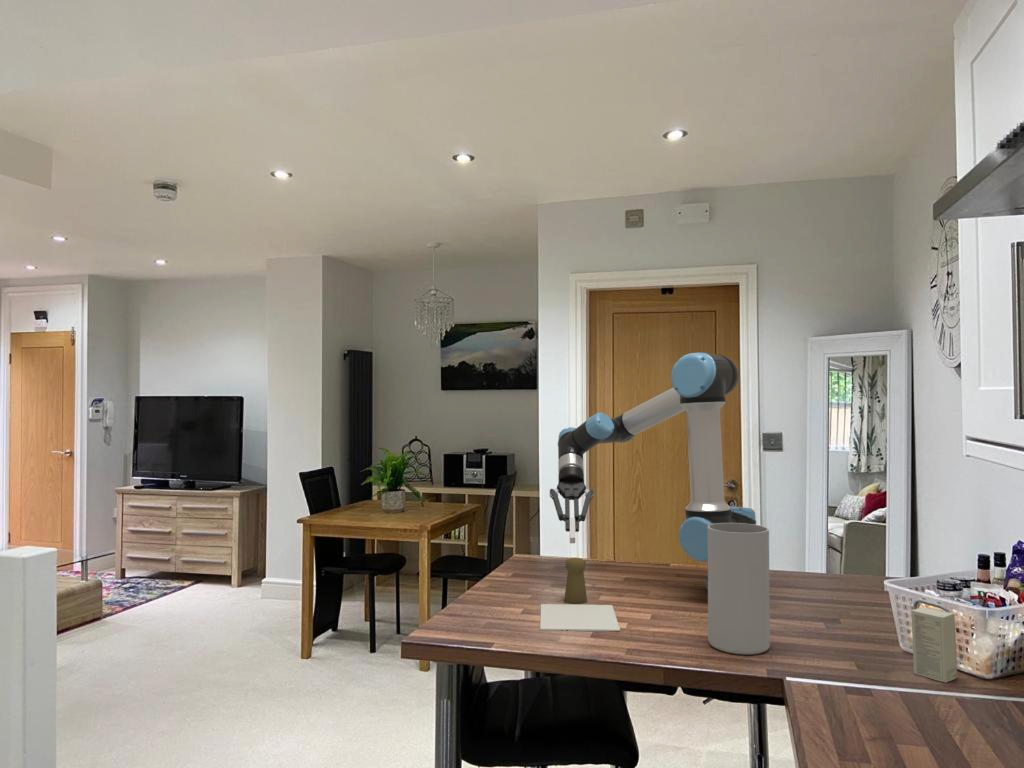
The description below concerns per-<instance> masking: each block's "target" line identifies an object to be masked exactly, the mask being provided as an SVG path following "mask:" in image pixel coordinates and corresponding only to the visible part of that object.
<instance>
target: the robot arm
mask: <svg viewBox="0 0 1024 768" xmlns="http://www.w3.org/2000/svg"><path fill="white" fill-rule="evenodd" d="M670 377H671V378H670V381H671V384H672V387H671V388H670V389H667V390H666V391H663V392H661V393H660V394H658V395H656V396H654V397H652V398H650V399H648V400H646V401H644V402H643V403H641V404H639V405H637V406H634V407H632V408H631V409H629V410H628V411H625V412H623V413H622V414H619V415H617V416H616V417H612V418H611V417H610V416H609V415H608V414H605V413H603V412H596V413H595V414H594V415H592V416H590V417H589V418H587V420H585V421H584V422H582V423H581V424H580V425H579V426H578V427H573V426H571V427H567V428H563V429H562V430H561V431H560V432H559V433H558V440H557V449H558V453H557V454H558V455H557V457H558V458H557V459H558V460H557V461H558V462H557V463H558V469H557V471H558V473H557V474H558V477H557V478H558V484H557V486H556V488H550V489H549V497H550V498H551V499H552V501H553V504H554V507H555V510H556V515H557V518H558V521H560V522H564V525H565V526H564V528H565V532H567V533H568V532H569V544H576V533H577V532H578V533H579V532H580V522H585V520H586V517H587V513H588V510H589V506H590V501H591V500H592V499H594V489H592V488H591V489H589V488H587V486H586V484H585V472H584V471H585V470H584V469H585V467H584V464H585V463H584V454H585V453H587V452H588V451H589V450H591V449H592V448H594V447H595V446H596V445H599V444H613V443H614V444H615V443H622V444H624V443H627V442H629V441H632V440H633V439H634V438H635V436H636V435H638V434H640V433H642V432H644V431H646V430H648V429H650V428H652V427H654V426H657V425H658V424H660V423H662V422H665V421H667V420H669V419H671V418H673V417H675V416H677V415H679V414H681V413H683V412H686V426H687V427H686V428H687V448H688V450H687V451H688V453H687V454H688V469H689V471H688V472H689V473H688V474H689V488H690V489H689V492H690V502H689V503H688V504H687V505H686V507H685V508H684V509H685V511H684V512H685V519H684V521H683V522H682V524H681V525H680V527H679V529H678V539H679V540H678V541H679V543H680V547H681V548H682V549H683V551H684V553H686V554H687V556H689V557H690V558H691V559H693V560H695V561H698V562H701V563H702V562H703V563H708V525H711V524H716V523H745V524H754V525H757V520H756V519H757V518H756V512H755V510H754V509H752V508H750V507H745V506H744V507H743V506H732V505H729V504H728V503H726V501H725V500H726V499H725V488H724V487H725V486H724V483H725V482H724V469H723V468H724V465H723V446H722V444H723V443H722V442H723V441H722V425H721V409H722V407H724V405H725V404H726V396H728V395H729V394H731V393H732V392H733V391H734V390H735V389H736V387H737V386H738V383H739V378H740V373H739V369H738V366H737V364H736V363H735V362H734V361H733V360H732V359H731V358H729V357H728V356H725V355H723V354H713V353H707V352H703V351H702V352H690V353H687V354H685V355H682V356H681V357H680V358H679V359H678V360H677V361H676V363H675V364H674V365H673V367H672V370H671V376H670ZM559 495H560V496H561V497H562V498H563V499H564V512H563V509H562V508H563V507H562V506H561V501H560V498H559ZM583 495H584V496H585V499H584V502H583V505H582V511H581V514H580V507H579V500H580V499H581V498H582V497H583ZM570 501H573V515H574V517H571V516H570V515H571V513H570V508H571V507H570ZM704 583H705V585H704V586H705V587H704V588H705V590H706V591H708V573H707V575H706V577H705V582H704Z"/></svg>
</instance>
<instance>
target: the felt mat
mask: <svg viewBox="0 0 1024 768" xmlns="http://www.w3.org/2000/svg"><path fill="white" fill-rule="evenodd" d="M539 620H540V623H539V624H540V626H539V630H540V631H544V632H545V631H548V632H549V631H551V632H552V631H554V632H555V631H556V632H557V631H559V632H561V630H563V632H609V631H620V632H621V627H620V624H619V622H618V618H617V616H616V613H615V610H614V607H613V605H612V604H569V603H566V604H560V603H559V604H557V603H556V604H554V603H553V604H552V603H541V604H540V619H539ZM566 630H568V631H566Z"/></svg>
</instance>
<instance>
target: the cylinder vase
mask: <svg viewBox="0 0 1024 768" xmlns="http://www.w3.org/2000/svg"><path fill="white" fill-rule="evenodd" d="M707 574H708V590H707V627H708V628H707V636H708V637H707V639H708V643H709V645H711V646H712V648H714V649H717V650H719V651H721V652H725V653H729V654H733V655H744V656H746V655H747V656H748V655H749V656H750V655H758V654H763V653H765V652H766V651H769V649H770V647H771V646H770V645H771V641H770V639H771V634H770V633H771V631H770V630H771V629H770V627H771V626H770V625H771V624H770V623H771V621H770V529H769V528H768V527H766V526H763V525H758V524H756V525H754V524H745V523H716V524H711V525H708V562H707Z"/></svg>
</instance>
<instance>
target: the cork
mask: <svg viewBox="0 0 1024 768" xmlns="http://www.w3.org/2000/svg"><path fill="white" fill-rule="evenodd" d="M585 561H586V560H585V559H584V558H580V557H570V558H568V559H567V560H566V561H565V568H566V570H567V575H566V583H565V590H564V599H563V601H564V602H565V603H566V602H567V603H566V604H570V603H571V604H570V605H583V604H587V602H588V596H587V595H588V594H587V588H586V580H585V579H586V578H585V570H586V565H587V564H586V562H585ZM582 603H583V604H582Z"/></svg>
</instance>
